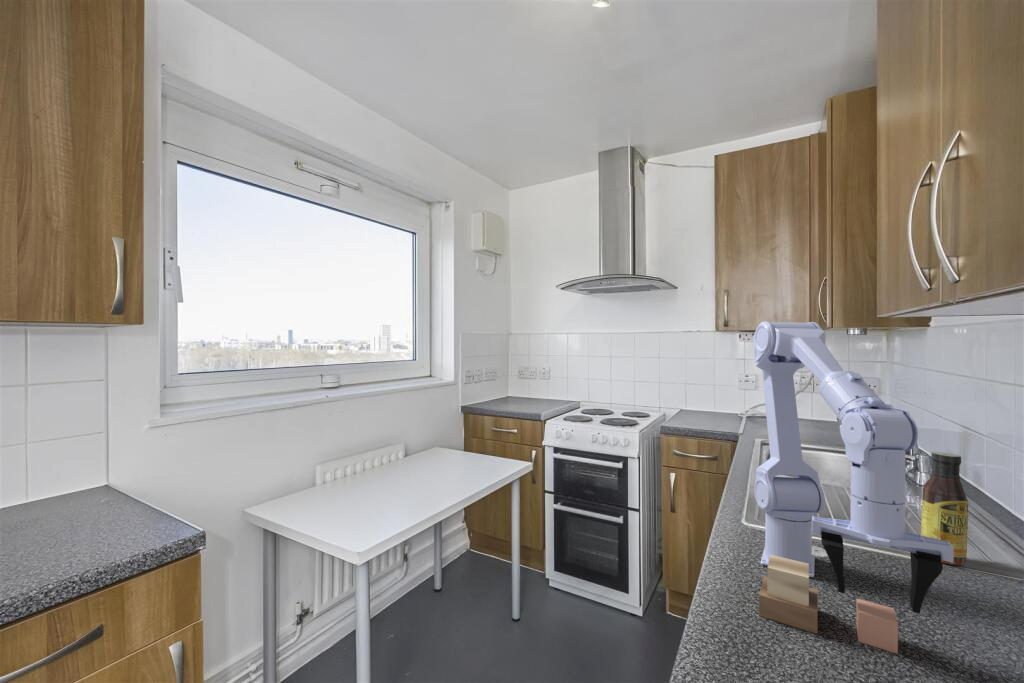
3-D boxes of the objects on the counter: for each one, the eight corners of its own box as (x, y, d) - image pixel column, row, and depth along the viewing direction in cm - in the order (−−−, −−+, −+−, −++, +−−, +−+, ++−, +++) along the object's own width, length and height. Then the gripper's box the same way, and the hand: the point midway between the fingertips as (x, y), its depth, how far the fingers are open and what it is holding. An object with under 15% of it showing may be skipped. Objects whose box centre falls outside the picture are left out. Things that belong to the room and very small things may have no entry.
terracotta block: (856, 627, 62) (856, 598, 62) (893, 638, 60) (893, 608, 60) (858, 642, 59) (858, 611, 59) (897, 654, 57) (897, 623, 57)
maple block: (769, 580, 68) (769, 554, 69) (808, 590, 66) (808, 563, 66) (767, 595, 64) (767, 567, 64) (808, 606, 62) (808, 577, 62)
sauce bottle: (944, 567, 80) (944, 457, 80) (911, 551, 86) (911, 449, 87) (978, 567, 80) (978, 457, 81) (943, 551, 87) (943, 450, 87)
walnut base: (763, 594, 70) (764, 575, 70) (817, 609, 66) (817, 589, 66) (759, 615, 64) (759, 594, 64) (817, 634, 60) (817, 611, 60)
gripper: (811, 494, 61) (811, 594, 60) (959, 518, 52) (960, 635, 52) (812, 482, 66) (812, 573, 66) (945, 502, 58) (945, 607, 58)
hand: (876, 599), depth 59 cm, fingers open, 7 cm apart
